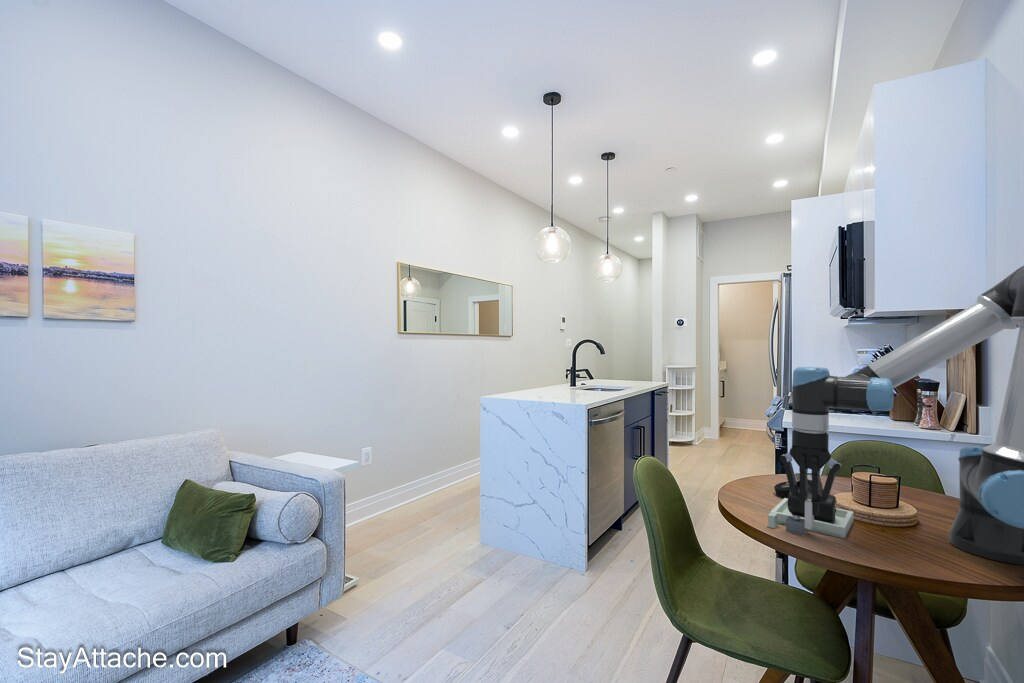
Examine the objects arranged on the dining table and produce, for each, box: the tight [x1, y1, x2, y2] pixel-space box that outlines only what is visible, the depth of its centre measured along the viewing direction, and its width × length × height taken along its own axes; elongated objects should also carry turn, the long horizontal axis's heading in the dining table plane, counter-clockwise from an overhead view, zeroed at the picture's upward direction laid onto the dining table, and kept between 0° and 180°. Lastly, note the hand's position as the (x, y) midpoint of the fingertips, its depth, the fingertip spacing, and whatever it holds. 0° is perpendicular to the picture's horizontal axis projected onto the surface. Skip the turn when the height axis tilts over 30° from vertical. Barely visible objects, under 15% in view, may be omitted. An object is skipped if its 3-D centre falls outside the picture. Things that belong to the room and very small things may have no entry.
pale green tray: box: [767, 498, 854, 540], centre depth 122 cm, size 16×20×3 cm
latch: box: [785, 515, 808, 536], centre depth 117 cm, size 4×3×4 cm
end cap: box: [787, 489, 838, 524], centre depth 123 cm, size 10×7×7 cm
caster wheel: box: [773, 472, 824, 499], centre depth 143 cm, size 7×11×10 cm
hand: (809, 527), depth 115 cm, fingers closed
